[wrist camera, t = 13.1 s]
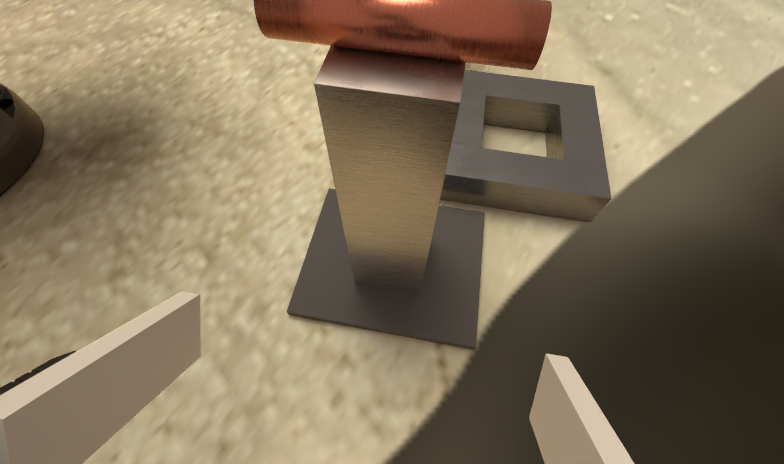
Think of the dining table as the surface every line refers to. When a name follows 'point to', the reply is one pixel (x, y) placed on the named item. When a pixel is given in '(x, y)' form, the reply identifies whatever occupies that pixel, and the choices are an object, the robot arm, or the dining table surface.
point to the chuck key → (399, 108)
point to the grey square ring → (527, 172)
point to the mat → (392, 307)
